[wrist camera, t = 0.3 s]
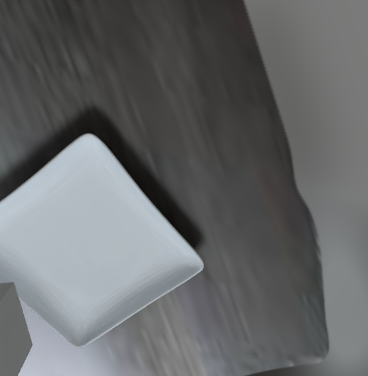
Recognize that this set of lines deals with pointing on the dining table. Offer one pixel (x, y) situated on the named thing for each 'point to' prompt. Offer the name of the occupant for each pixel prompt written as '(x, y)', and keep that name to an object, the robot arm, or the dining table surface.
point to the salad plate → (88, 244)
